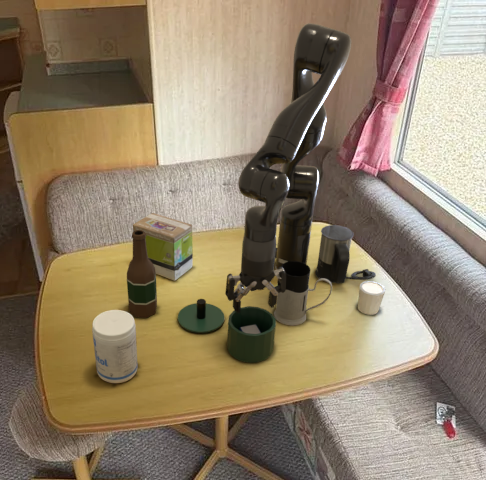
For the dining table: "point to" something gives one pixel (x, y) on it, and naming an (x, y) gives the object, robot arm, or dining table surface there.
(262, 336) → the pot
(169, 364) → the dining table surface
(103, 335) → the supplement tub
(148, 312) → the beer bottle
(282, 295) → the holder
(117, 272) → the dining table surface
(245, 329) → the cream cheese
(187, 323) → the lid
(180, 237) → the tea box
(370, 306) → the white ribbed cup
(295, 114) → the robot arm
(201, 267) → the dining table surface
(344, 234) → the milk frother
